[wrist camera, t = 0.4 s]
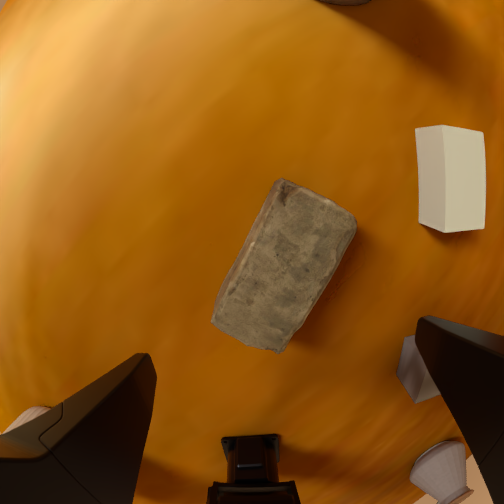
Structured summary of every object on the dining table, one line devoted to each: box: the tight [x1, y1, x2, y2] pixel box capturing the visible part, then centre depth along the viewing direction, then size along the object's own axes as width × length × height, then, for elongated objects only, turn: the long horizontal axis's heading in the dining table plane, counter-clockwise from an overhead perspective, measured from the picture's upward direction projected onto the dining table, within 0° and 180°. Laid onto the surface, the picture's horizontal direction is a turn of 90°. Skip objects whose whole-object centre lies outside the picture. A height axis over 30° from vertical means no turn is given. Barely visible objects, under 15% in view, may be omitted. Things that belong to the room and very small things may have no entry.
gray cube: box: [396, 335, 440, 404], centre depth 23 cm, size 5×5×5 cm
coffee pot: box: [410, 441, 474, 504], centre depth 28 cm, size 21×12×15 cm, turn 169°
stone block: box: [211, 178, 357, 354], centre depth 20 cm, size 6×12×5 cm, turn 155°
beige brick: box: [415, 125, 486, 233], centre depth 19 cm, size 8×5×4 cm, turn 6°
